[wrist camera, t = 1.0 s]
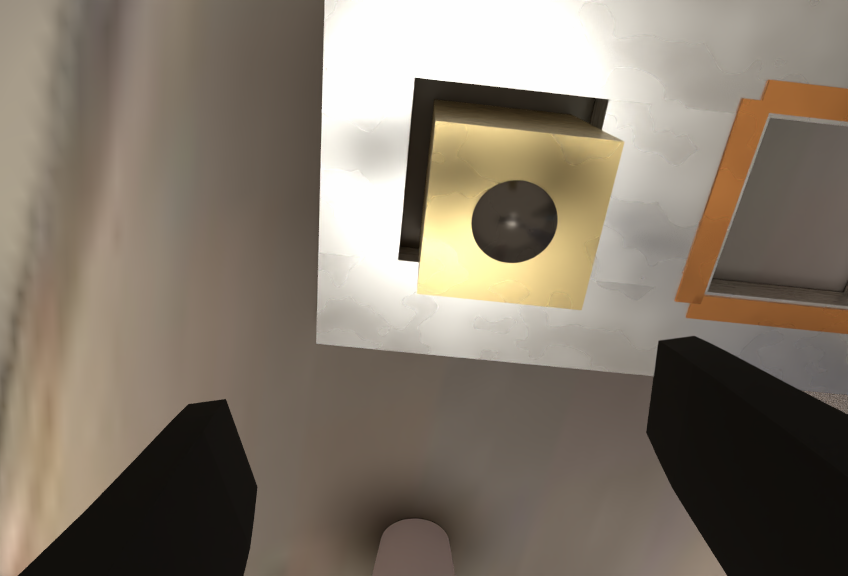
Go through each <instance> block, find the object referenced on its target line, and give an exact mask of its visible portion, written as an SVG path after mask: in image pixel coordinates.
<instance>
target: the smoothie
mask: <svg viewBox="0 0 848 576" xmlns="http://www.w3.org/2000/svg"><path fill="white" fill-rule="evenodd" d="M372 576H455V571H454V565H453V560H452V554H451V549H450V543H449V538H448V536H447V534H446V532H445V531H444V530H443V529H442V528H441V527H440V526H438V525H437V524H435V523H433V522H431V521H428V520H424V519H415V518H414V519H404V520H401V521H398V522H395V523H394V524H392V525H390V526H389V527H388V528H387V529H386V530H385V531H384V533H383V534H382V537H381V540H380V545H379V549H378V553H377V557H376V561H375V565H374V569H373V573H372Z"/></svg>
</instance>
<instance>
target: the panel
mask: <svg viewBox="0 0 848 576" xmlns="http://www.w3.org/2000/svg"><path fill="white" fill-rule="evenodd" d="M416 77H417V78H425V79H434V80H443V81H452V82H461V83H469V84H478V85H487V86H496V87H505V88H513V89H522V90H531V91H540V92H549V93H557V94H566V95H575V96H584V97H593V98H596V100H595V104H594V108H593V113H592V117H591V122H590V124H591V125H593V126H595V127H597V128H599V129H600V130H602V131H604V132H606V133H608V134H610V135H612V136H614V137H616V138H618V139H620V140H622V141H624V146H623V150H622V154H621V158H620V162H619V166H618V170H617V174H616V178H615V182H614V185H613V189H612V193H611V197H610V201H609V205H608V209H607V213H606V217H605V221H604V225H603V229H602V233H601V236H600V240H599V244H598V248H597V252H596V256H595V260H594V264H593V268H592V272H591V276H590V280H589V284H588V288H587V291H586V295H585V299H584V303H583V307H582V310H573V309H563V308H553V307H543V306H533V305H523V304H513V303H503V302H493V301H483V300H473V299H463V298H453V297H443V296H433V295H423V294H417V281H418V263H419V249H418V248H409V247H400V241H401V230H402V219H403V208H404V197H405V186H406V175H407V165H408V154H409V143H410V132H411V121H412V110H413V99H414V88H415V78H416ZM770 118H778V119H786V120H795V121H804V122H813V123H822V124H830V125H839V126H848V0H325V14H324V54H323V95H322V135H321V175H320V216H319V256H318V297H317V337H316V344H326V345H337V346H347V347H357V348H368V349H378V350H388V351H399V352H409V353H419V354H430V355H440V356H451V357H461V358H471V359H482V360H492V361H502V362H513V363H523V364H533V365H544V366H554V367H564V368H575V369H585V370H596V371H606V372H616V373H627V374H637V375H647V376H654V371H655V363H656V355H657V348H658V341H659V340H666V339H674V338H681V337H688V336H696V337H698V338H701V339H703V340H705V341H707V342H709V343H711V344H713V345H715V346H717V347H719V348H721V349H723V350H725V351H727V352H729V353H731V354H733V355H735V356H737V357H739V358H740V359H742V360H744V361H746V362H748V363H750V364H752V365H754V366H756V367H757V368H759V369H761V370H763V371H765V372H767V373H769V374H771V375H772V376H774V377H776V378H778V379H780V380H782V381H784V382H786V383H788V384H789V385H791V386H793V387H795V388H797V389H799V390H803V391H813V392H823V393H834V394H844V395H848V283H847V286H846V288H845V290H844V292H836V291H826V290H816V289H806V288H797V287H787V286H777V285H768V284H758V283H748V282H739V281H729V280H719V279H712V278H713V275H714V272H715V269H716V267H717V264H718V261H719V258H720V256H721V253H722V250H723V247H724V244H725V242H726V239H727V236H728V233H729V231H730V228H731V225H732V222H733V219H734V217H735V214H736V211H737V208H738V206H739V203H740V200H741V197H742V194H743V192H744V189H745V186H746V183H747V181H748V178H749V175H750V172H751V169H752V167H753V164H754V161H755V158H756V156H757V153H758V150H759V147H760V144H761V142H762V139H763V136H764V133H765V131H766V128H767V125H768V122H769V119H770Z"/></svg>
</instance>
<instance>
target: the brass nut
mask: <svg viewBox="0 0 848 576" xmlns="http://www.w3.org/2000/svg"><path fill="white" fill-rule="evenodd" d="M623 146H624V141H622V140H620V139H618V138H616V137H614V136H612V135H610V134H608V133H606V132H604V131H602V130H600V129H599V128H597V127H595V126H593V125H591V124H589V123H587V122H585V121H583V120H581V119H579V118H577V117H575V116H573V115H570V114H562V113H553V112H544V111H535V110H526V109H517V108H508V107H499V106H490V105H481V104H472V103H463V102H454V101H446V100H437V99H434V108H433V117H432V126H431V136H430V145H429V154H428V164H427V173H426V182H425V192H424V201H423V210H422V220H421V229H420V245H419V263H418V281H417V294H423V295H433V296H443V297H453V298H463V299H473V300H483V301H493V302H503V303H513V304H523V305H533V306H543V307H553V308H563V309H573V310H582V307H583V303H584V299H585V295H586V291H587V288H588V284H589V280H590V276H591V272H592V268H593V264H594V260H595V256H596V252H597V248H598V244H599V240H600V236H601V233H602V229H603V225H604V221H605V217H606V213H607V209H608V205H609V201H610V197H611V193H612V189H613V185H614V182H615V178H616V174H617V170H618V166H619V162H620V158H621V154H622V150H623Z"/></svg>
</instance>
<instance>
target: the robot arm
mask: <svg viewBox="0 0 848 576" xmlns="http://www.w3.org/2000/svg"><path fill="white" fill-rule="evenodd" d="M646 433H647V435H648V437H649V439H650V441H651V444H652V446H653V448H654V450H655V453H656V455H657V457H658V459H659V462H660V464H661V466H662V468H663V470H664V472H665V474H666V476H667V478H668V480H669V482H670V484H671V486H672V488H673V490H674V491H675V493H676V495H677V496H678V498H679V500H680V501H681V503H682V504H683V506H684V508H685V509H686V511H687V512H688V514H689V516H690V517H691V519H692V521H693V522H694V524H695V525H696V527H697V529H698V530H699V532H700V533H701V535H702V536H703V538H704V540H705V541H706V543H707V544H708V546H709V548H710V549H711V551H712V552H713V554H714V555H715V557H716V559H717V560H718V562H719V563H720V565H721V566H722V568H723V570H724V571H725V573H726V574H727V576H848V414H846V413H844V412H842V411H840V410H838V409H836V408H834V407H832V406H830V405H828V404H826V403H824V402H822V401H820V400H818V399H816V398H814V397H812V396H810V395H809V394H807V393H805V392H803V391H801V390H799V389H797V388H795V387H793V386H791V385H789V384H788V383H786V382H784V381H782V380H780V379H778V378H776V377H774V376H772V375H771V374H769V373H767V372H765V371H763V370H761V369H759V368H757V367H756V366H754V365H752V364H750V363H748V362H746V361H744V360H742V359H740V358H739V357H737V356H735V355H733V354H731V353H729V352H727V351H725V350H723V349H721V348H719V347H717V346H715V345H713V344H711V343H709V342H707V341H705V340H703V339H701V338H698V337H696V336H688V337H681V338H674V339H666V340H659V341H658V348H657V355H656V363H655V371H654V378H653V386H652V393H651V401H650V408H649V416H648V423H647V431H646ZM256 495H257V484H256V482H255V479H254V476H253V473H252V471H251V468H250V465H249V462H248V459H247V457H246V454H245V451H244V448H243V445H242V443H241V440H240V437H239V434H238V432H237V429H236V426H235V423H234V420H233V418H232V415H231V412H230V409H229V407H228V404H227V401H226V399H223V400H216V401H209V402H201V403H194V404H188V405H187V406H186V407H185V408H184V409H183V410H182V411H181V412H180V413H179V414H178V415H177V416H176V417H175V418H174V419H173V420H172V421H171V422H170V423H169V424H168V425H167V426H166V427H165V428H164V429H163V430H162V431H161V432H160V434H159V435H158V436H157V437H156V438H155V439H154V440H153V441H152V442H151V443H150V444H149V445H148V446H147V447H146V448H145V449H144V450H143V451H142V453H141V454H140V455H139V456H138V457H137V458H136V459H135V460H134V461H133V462H132V463H131V464H130V465H129V466H128V467H127V468H126V469H125V470H124V471H123V472H122V473H121V474H120V476H119V477H118V478H117V479H116V480H115V481H114V482H113V483H112V484H111V485H110V486H109V487H108V488H107V489H106V490H105V491H104V492H103V493H102V494H101V495H100V496H99V497H98V498H97V499H96V500H95V501H94V502H93V503H92V504H91V505H90V507H89V508H88V509H87V510H86V511H85V512H84V513H83V514H82V515H80V516H79V517H78V518H77V519H76V520H75V521H74V522H73V523H72V524H71V525H70V526H69V527H68V528H67V529H66V530H65V531H64V532H63V533H62V534H61V535H60V536H59V537H58V538H57V539H56V540H55V541H54V542H52V543H51V544H50V545H49V546H48V547H47V548H46V549H45V550H44V551H43V552H42V553H41V554H40V555H39V556H38V557H37V558H36V559H35V560H34V561H33V562H32V563H31V564H30V565H29V566H28V567H27V568H25V569H24V570H23V571H22V572H21V573H20V574H19V575H18V576H244V571H245V567H246V563H247V559H248V554H249V550H250V544H251V537H252V529H253V522H254V513H255V504H256Z"/></svg>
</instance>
